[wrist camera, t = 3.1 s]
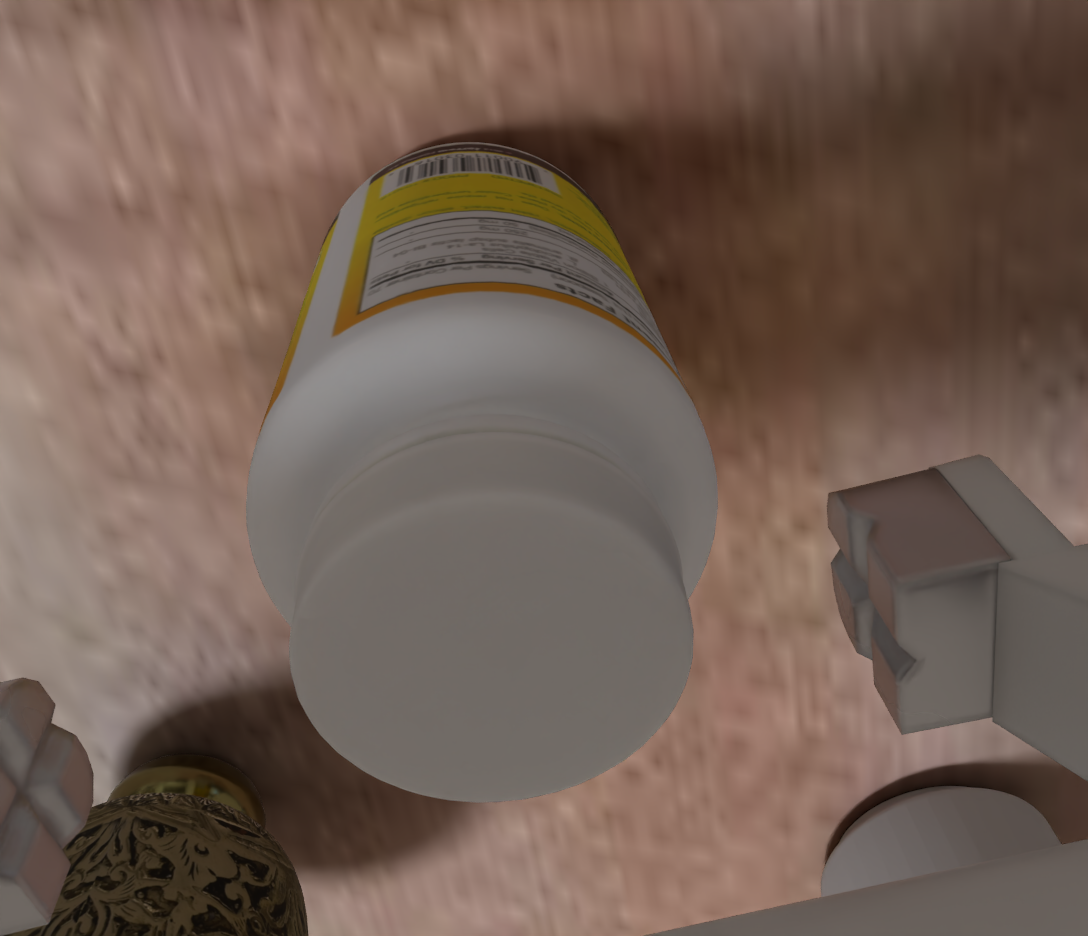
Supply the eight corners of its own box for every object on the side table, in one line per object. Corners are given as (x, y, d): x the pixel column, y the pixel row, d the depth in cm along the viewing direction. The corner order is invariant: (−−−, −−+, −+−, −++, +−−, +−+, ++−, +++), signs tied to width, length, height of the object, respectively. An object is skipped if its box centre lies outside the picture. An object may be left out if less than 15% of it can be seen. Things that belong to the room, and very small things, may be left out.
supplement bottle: (455, 469, 20) (456, 925, 12) (253, 266, 18) (62, 651, 9) (681, 307, 19) (878, 687, 10) (497, 60, 16) (547, 284, 8)
